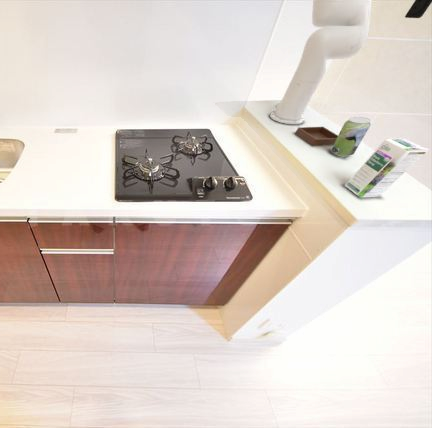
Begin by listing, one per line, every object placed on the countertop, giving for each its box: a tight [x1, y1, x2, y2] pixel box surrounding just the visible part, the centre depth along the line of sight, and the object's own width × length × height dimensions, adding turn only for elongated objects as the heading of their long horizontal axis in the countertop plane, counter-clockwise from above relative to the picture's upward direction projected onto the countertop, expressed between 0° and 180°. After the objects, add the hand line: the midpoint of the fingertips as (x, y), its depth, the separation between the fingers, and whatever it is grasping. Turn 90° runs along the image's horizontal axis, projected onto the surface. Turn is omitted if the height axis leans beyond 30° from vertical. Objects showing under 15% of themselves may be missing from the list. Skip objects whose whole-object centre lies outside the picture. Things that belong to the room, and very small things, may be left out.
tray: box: [294, 126, 339, 147], centre depth 86 cm, size 10×10×2 cm
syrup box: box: [344, 138, 430, 199], centre depth 59 cm, size 6×6×14 cm
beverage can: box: [330, 116, 371, 157], centre depth 75 cm, size 6×7×12 cm
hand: (429, 17), depth 55 cm, fingers open, 9 cm apart
